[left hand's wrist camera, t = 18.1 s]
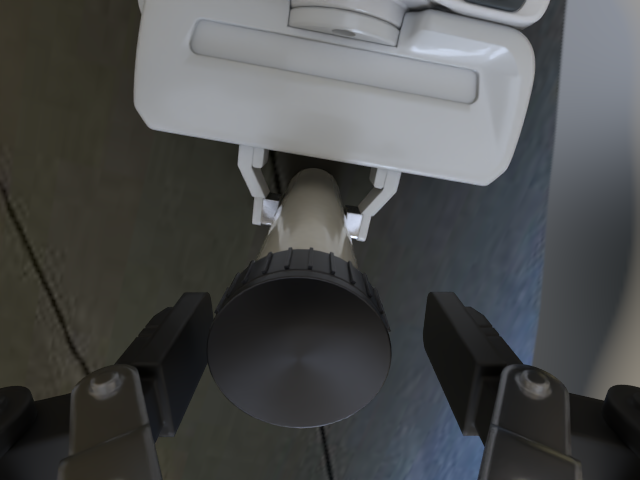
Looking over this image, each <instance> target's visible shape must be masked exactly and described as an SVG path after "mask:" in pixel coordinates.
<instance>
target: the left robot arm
mask: <svg viewBox="0 0 640 480" xmlns="http://www.w3.org/2000/svg"><path fill="white" fill-rule="evenodd" d="M212 322H213V312H212V304H211V297H210V294H209V293H184V294H183V295H182V296H181V298H180V299H179V300H178V302H177V303H176V304H175V306H174V307H167V308H166V309H164V310H163V311H161V312H160V313H158V314H156V315H155V316H154V317H153V318H152V319H151V320H150V322H149V323H148V324H147V325H146V328H144V329H143V330H142V331H141V333H140V334H139V335H138V337H136V339H135V340H134V341H133V342H132V343H131V345H130V346H129V347H128V348H127V350H126V351H125V352H124V353H123V354H122V356H121V357H120V358H119V359H118V361H117V362H116V363H115V364H114V365H110V366H107V367H104V368H101V369H98V370H96V371H94V372H92V373H90V374H89V375H87V376H86V377H84V378H83V379H82V380H81V381H79V382H78V383H77V385H76V386H75V387H74V389H73V390H72V393H69V394H66V395H61V396H57V397H52V398H48V399H43V400H39V401H34V400H33V397H32V394H31V392H30V390H29V389H28V388H26V387H22V386H10V387H4V388H0V480H163V479H162V475H161V470H160V466H159V461H158V457H157V452H156V448H155V442H156V440H157V438H158V437H174V436H175V434H176V431H177V429H178V427H179V425H180V423H181V420H182V418H183V416H184V414H185V412H186V409H187V407H188V405H189V403H190V400H191V398H192V396H193V394H194V392H195V389H196V387H197V385H198V383H199V381H200V378H201V376H202V374H203V372H204V369H205V367H206V365H207V363H208V361H207V352H206V351H207V339H208V335H209V328H210V326H211V324H212ZM423 342H424V347H425V351H426V353H427V355H428V357H429V360H430V362H431V364H432V366H433V369H434V371H435V373H436V375H437V378H438V380H439V382H440V384H441V387H442V389H443V391H444V393H445V396H446V398H447V400H448V402H449V405H450V407H451V409H452V411H453V413H454V416H455V418H456V420H457V422H458V425H459V427H460V429H461V431H462V434H463V436H480V439H481V441H482V443H483V445H484V447H485V448H484V452H483V457H482V461H481V466H480V470H479V475H478V479H477V480H640V388H639V387H635V386H630V385H615V386H612V387H611V388H610V389H609V390H608V392H607V395H606V398H605V400H604V401H603V400H598V399H594V398H590V397H585V396H581V395H576V394H572V393H568V390H567V389H566V387H565V386H564V385H563V384H562V382H561V381H559V380H558V379H557V378H556V377H554V376H553V375H551V374H550V373H548V372H546V371H544V370H542V369H539V368H536V367H533V366H530V365H524V364H523V363H522V362H521V361H520V359H519V358H518V357H517V356H516V354H515V353H514V352H513V351H512V349H511V348H510V347H509V346H508V345H507V343H506V342H505V341H504V340H503V338H502V337H499V334H498V332H497V331H496V330H495V329H494V328H492V325H491V324H490V322H489V321H488V320H487V319H486V318H485V316H484V315H482V314H481V313H479V312H478V311H476V310H475V309H473V308H472V307H465V306H464V305H463V304H462V302H461V301H460V300H459V298H458V297H457V296H456V294H455V293H454V292H430V293H429V294H428V298H427V305H426V313H425V321H424V329H423Z"/></svg>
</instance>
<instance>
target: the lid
mask: <svg viewBox="0 0 640 480" xmlns="http://www.w3.org/2000/svg"><path fill="white" fill-rule="evenodd" d="M214 313H216V316H215V318H214V320H213V322H212V324H211V326H210V328H209V335H208V339H207V351H206V352H207V361H208V365H209V369H210V372H211V375H212V377H213V379H214V381H215V383H216V385H217V386H218V388H219V389H220V391H221V392H222V393H223V394H224V395H225V397H226V398H227V399H228V400H229V401H230V402H231V403H233V404H234V405H235V406H236V407H238V408H239V409H240V410H242V411H243V412H245V413H247V414H248V415H250V416H252V417H254V418H256V419H259V420H261V421H264V422H267V423H270V424H274V425H278V426H284V427H292V428H309V427H318V426H324V425H328V424H331V423H335V422H338V421H340V420H343V419H345V418H347V417H349V416H351V415H353V414H355V413H356V412H358V411H359V410H361V409H362V408H364V407H365V406H366V405H367V404H368V403H369V402H370V401H371V400H372V399H373V398H374V397H375V396H376V395H377V393H378V392H379V390H380V389H381V387H382V386H383V384H384V382H385V380H386V378H387V375H388V372H389V368H390V364H391V343H390V338H389V334H388V332H390V327H389V324H388V321H387V318H386V315H385V312H384V309H383V306H382V304H381V301H380V298H379V295H378V292H377V289H376V288H374V289H373V288H372V286H371V284H370V283H369V281H368V278H367V275H366V274H365V273H363V274H362V273H361V272H360V271H359V270H358V269H356V268H355V267H354V266H353V264H352V262H351V261H348V262H346V261H345V260H343V259H341V258H339V257H337V256H334V253H333V252H330V254H329V253H325V252H322V251H317V250H313V248H312V247H310V249H292V247H289V248H288V250H285V251H280V252H276V253H272V252H269V253H268V255H267V256H265V257H263V258H261V259H259V260H257V261H256V262H254V260H252V261H251V262H250V264H249V266H248V267H247V268H246V269H245V270H244V271H243V272H242V273H241V274H240V273H239V272H238V273H237V274H236V276H235V278H234V280H233V282H232V284H231V286H230V288H229V287H228V288H227V289H226V291H225V293H224V295H223V297H222V299H221V301H220V303H219V304H218V306H217V308H216V310H215V312H214Z"/></svg>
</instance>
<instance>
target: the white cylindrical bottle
mask: <svg viewBox="0 0 640 480" xmlns="http://www.w3.org/2000/svg"><path fill="white" fill-rule="evenodd" d="M289 247H292V249H310V247H312V248H313V250H317V251H322V252H325V253H329V254H330V252H333V253H334V256H337V257H339V258H341V259H343V260H345V261H346V262H348V261H351V262H352V264H353V266H354V267H355V268H356V269H358V265H357V261H356V257H355V253H354V249H353V245H352V241H351V236H350V232H349V228H348V224H347V220H346V216H345V212H344V208H343V203H342V199H341V195H340V191H339V187H338V184H337V182H336V180H335V179H334V178H333V177H332V175H330V174H329V173H328V172H326V171H324V170H322V169H317V168H309V169H305V170H302V171H300V172H299V173H297V174H296V175H295V176H294V177H293V178H292V180H291V181H290V183H289V185H288V188H287V190H286V192H285V195H284V197H283V199H282V201H281V204H280V206H279V208H278V211H277V213H276V215H275V217H274V220H273V222H272V224H271V226H270V229H269V231H268V233H267V236H266V238H265V240H264V242H263V245H262V247H261V249H260V252H259V254H258V256H257V258H256V261H257V260H259V259H261V258H263V257H265V256H267V255H268V253H269V252H272V253H276V252H280V251H285V250H288V248H289ZM256 261H255V262H256ZM358 270H359V269H358Z"/></svg>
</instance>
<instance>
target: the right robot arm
mask: <svg viewBox="0 0 640 480" xmlns="http://www.w3.org/2000/svg"><path fill="white" fill-rule="evenodd" d="M549 2H550V0H138V4H139V8H140V11H141V14H142V15H141V21H140V28H139V35H138V42H137V51H136V61H135V74H134V105H135V108H136V110H137V112H138V113H139V115H140V116H141V118H142V119H143V121H144V122H145V123H146V125H147V126H148V127H149V128H150V129H153V130H158V131H163V132H169V133H175V134H181V135H187V136H193V137H198V138H204V139H210V140H216V141H222V142H228V143H234V144H239V155H238V167H239V169H240V171H241V173H242V175H243V178H244V180H245V182H246V184H247V186H248V188H249V190H250V192H251V195H252V196H253V197H254V207H253V217H252V223H253V224H256V225H264V226H271V224H272V222H273V220H274V217H275V215H276V213H277V211H278V208H279V206H280V204H281V200H282V195H281V194H276V193H271V192H270V191H269V189H268V186H267V184H266V181H265V179H264V176H263V174H262V171H261V169H260V168H261V167H263V166H264V165H265V164H266V163H267V162H268V155H269V150H275V151H281V152H286V153H292V154H298V155H304V156H310V157H316V158H322V159H328V160H333V161H339V162H345V163H351V164H357V165H363V166H369V167H371V171H370V176H369V180H370V181H371V183H372V184H373V185H374V187H373V189H372V190H371V191H370V192H369V193H368V195H367V196H366V197H365V198H364V199H363V200H362V202H361V203H360V204H359V205H358V207H356V206H349V205H345V209H344V212H345V216H346V220H347V224H348V228H349V232H350V236H351V240H357V241H365V240H366V237H367V232H368V228H369V224H370V219H371V216H374V215H375V214H376V213H377V212H378V211H379V210H380V209H381V208H382V207H383V205H384V204H385V203H386V202H387V201H388V200H389V199H390V198H391V197H392V196H393V195H394V194H395V193H396V192H397V188H398V184H399V180H400V176H401V172H404V173H410V174H416V175H421V176H427V177H433V178H439V179H445V180H451V181H457V182H462V183H468V184H474V185H480V186H486V185H488V184H490V183H491V182H493V181H494V180H495V179H496V178H498V177H499V176H500V175H501V174H502V173H504V172H505V171H506V169H507V168H508V166H509V164H510V162H511V159H512V156H513V154H514V151H515V148H516V145H517V142H518V139H519V136H520V133H521V129H522V126H523V123H524V119H525V115H526V111H527V107H528V103H529V99H530V95H531V91H532V86H533V81H534V75H535V57H534V52H533V48H532V46H531V43H530V42H529V40H528V39H527V38H526V37H525V36H524V35H523V34H522V33H521V32H520V31H521V30H522V29H524V28H526V27H528V26H530V25H531V24H533V23H535V22H536V21H538V20H539V19H540V18H541V17H542V16H543V14H544V13H545V11H546V9H547V7H548V4H549Z"/></svg>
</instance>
